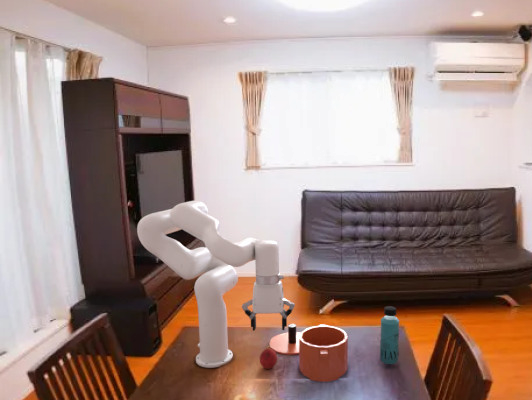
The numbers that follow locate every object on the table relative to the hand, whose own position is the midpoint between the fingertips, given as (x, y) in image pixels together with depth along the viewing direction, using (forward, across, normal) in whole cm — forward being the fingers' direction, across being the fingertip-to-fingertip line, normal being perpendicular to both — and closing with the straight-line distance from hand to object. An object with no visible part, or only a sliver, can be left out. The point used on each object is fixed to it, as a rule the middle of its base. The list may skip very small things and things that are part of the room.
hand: (269, 328), depth 142 cm
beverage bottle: (+15, -40, -3) cm, 43 cm away
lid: (+14, -7, -17) cm, 23 cm away
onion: (+14, 0, 0) cm, 15 cm away
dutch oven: (+14, -18, 0) cm, 23 cm away
